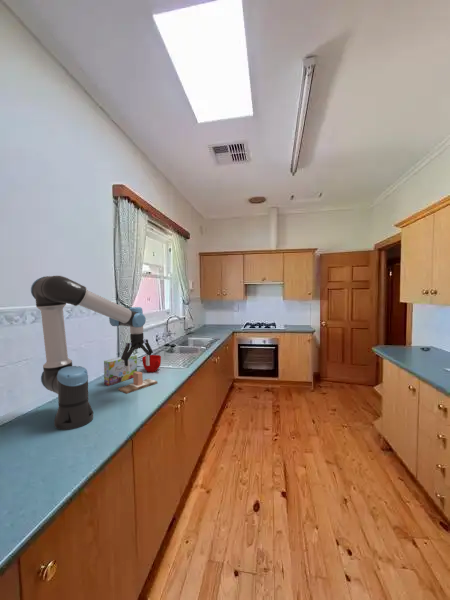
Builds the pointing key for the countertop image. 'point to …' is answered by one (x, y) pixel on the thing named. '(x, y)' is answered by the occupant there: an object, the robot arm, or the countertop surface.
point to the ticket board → (130, 388)
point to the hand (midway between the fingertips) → (138, 368)
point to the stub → (137, 379)
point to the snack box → (119, 370)
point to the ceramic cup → (152, 363)
